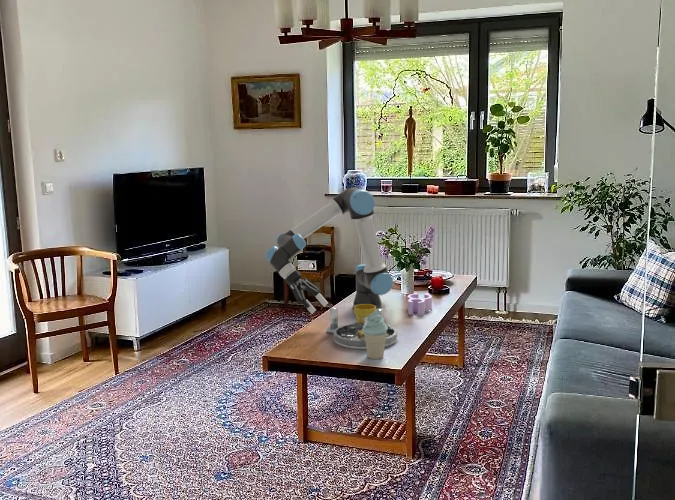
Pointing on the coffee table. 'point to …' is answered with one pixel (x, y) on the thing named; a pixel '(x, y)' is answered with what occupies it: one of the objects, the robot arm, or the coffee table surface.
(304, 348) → the coffee table surface
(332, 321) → the grey round-based stand
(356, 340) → the grey round tray
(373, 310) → the plant pot
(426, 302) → the clip
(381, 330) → the ice cream cone
